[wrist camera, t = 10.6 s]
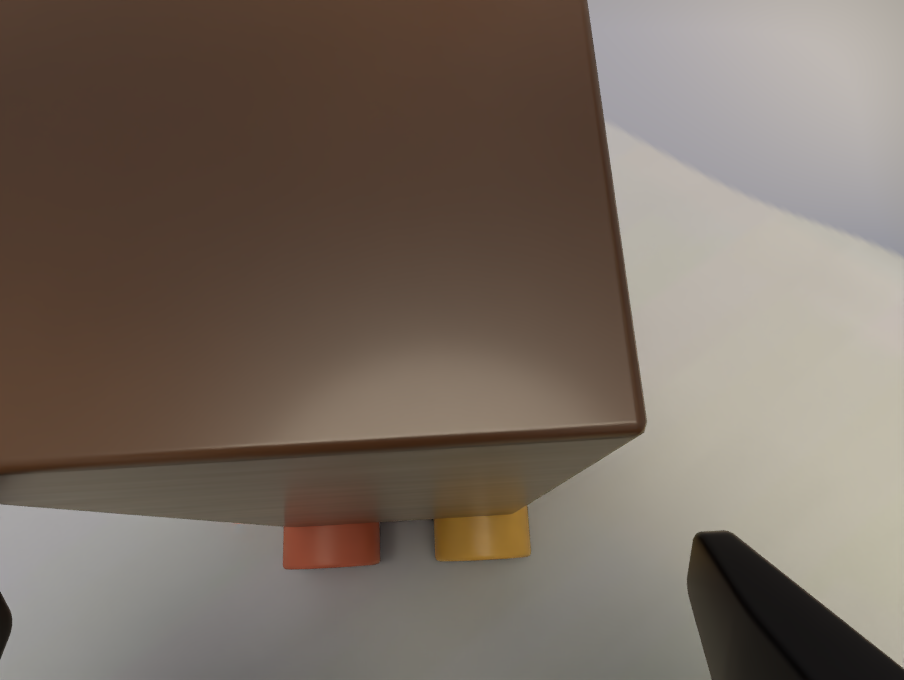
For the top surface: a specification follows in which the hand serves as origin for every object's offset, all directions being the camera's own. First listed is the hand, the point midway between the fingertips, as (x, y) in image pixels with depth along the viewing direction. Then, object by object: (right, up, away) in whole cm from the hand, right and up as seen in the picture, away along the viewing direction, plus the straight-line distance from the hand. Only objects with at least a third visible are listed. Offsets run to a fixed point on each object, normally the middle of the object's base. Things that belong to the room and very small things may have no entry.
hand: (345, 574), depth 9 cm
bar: (0, +1, +8) cm, 8 cm away
